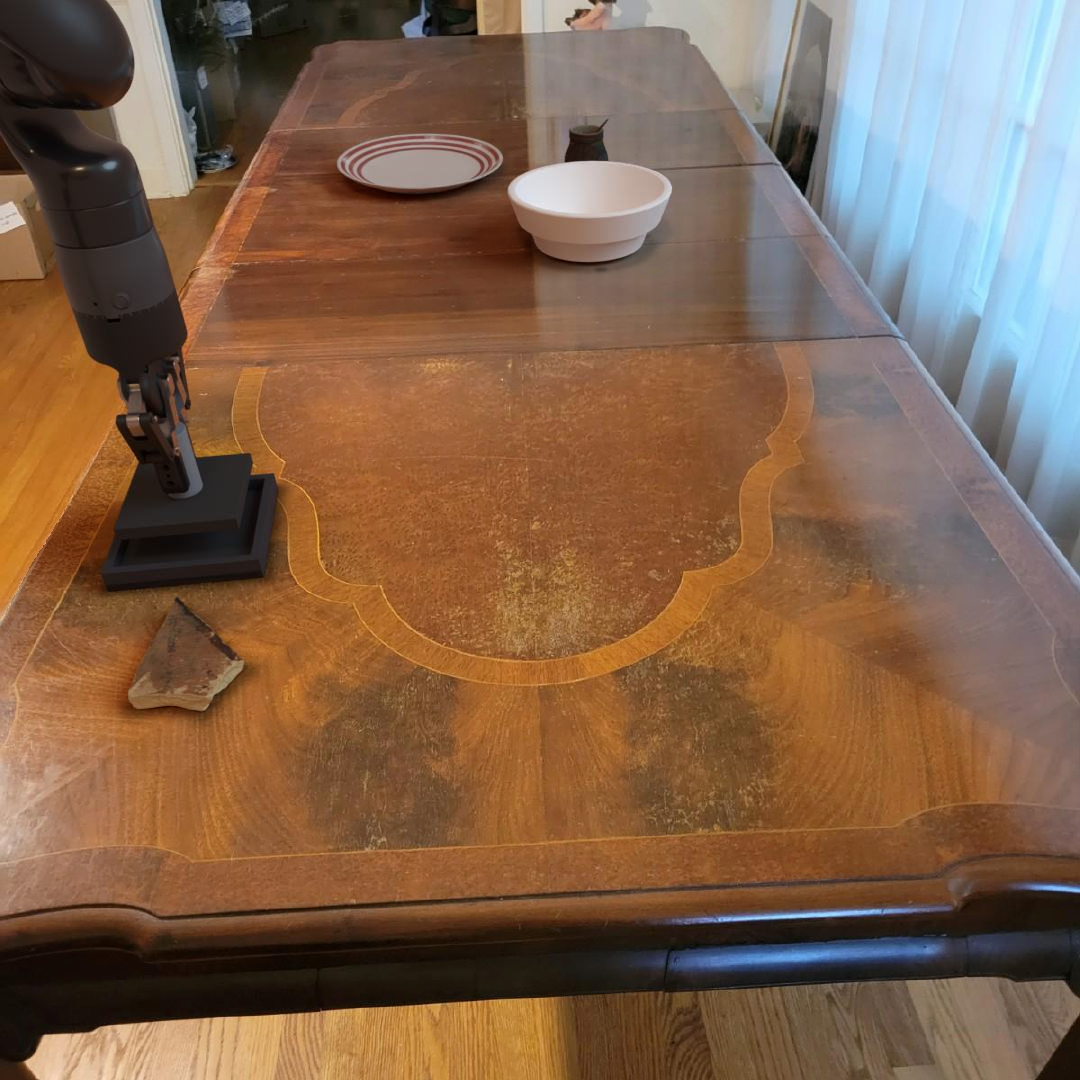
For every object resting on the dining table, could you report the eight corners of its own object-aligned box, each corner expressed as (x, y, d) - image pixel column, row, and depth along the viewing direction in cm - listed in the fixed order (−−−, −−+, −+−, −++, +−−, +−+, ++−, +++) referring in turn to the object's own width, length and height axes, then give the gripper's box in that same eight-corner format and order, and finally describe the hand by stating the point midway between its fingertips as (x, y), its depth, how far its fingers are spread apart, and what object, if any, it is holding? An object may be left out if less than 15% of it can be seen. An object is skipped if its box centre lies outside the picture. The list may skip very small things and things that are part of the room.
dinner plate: (527, 159, 170) (527, 139, 168) (461, 213, 151) (460, 191, 149) (388, 145, 179) (386, 126, 177) (308, 195, 159) (304, 174, 157)
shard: (180, 610, 80) (175, 593, 79) (271, 612, 80) (267, 596, 79) (127, 709, 72) (120, 692, 71) (228, 713, 71) (223, 696, 70)
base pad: (107, 591, 82) (100, 573, 81) (139, 501, 93) (133, 484, 91) (263, 577, 83) (259, 559, 82) (278, 489, 94) (274, 472, 92)
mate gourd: (573, 170, 165) (572, 107, 159) (615, 175, 163) (617, 111, 156) (557, 184, 160) (556, 120, 154) (601, 189, 157) (602, 123, 151)
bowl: (696, 262, 133) (701, 200, 128) (540, 289, 128) (538, 226, 123) (630, 208, 150) (632, 152, 145) (490, 230, 145) (486, 172, 139)
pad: (117, 540, 81) (89, 468, 77) (141, 472, 89) (118, 404, 85) (239, 529, 82) (219, 457, 77) (253, 463, 90) (235, 394, 85)
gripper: (93, 256, 79) (152, 439, 89) (43, 335, 68) (118, 533, 78) (188, 250, 79) (236, 432, 90) (154, 327, 68) (213, 524, 79)
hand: (180, 478), depth 84 cm, fingers closed on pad, 3 cm apart
